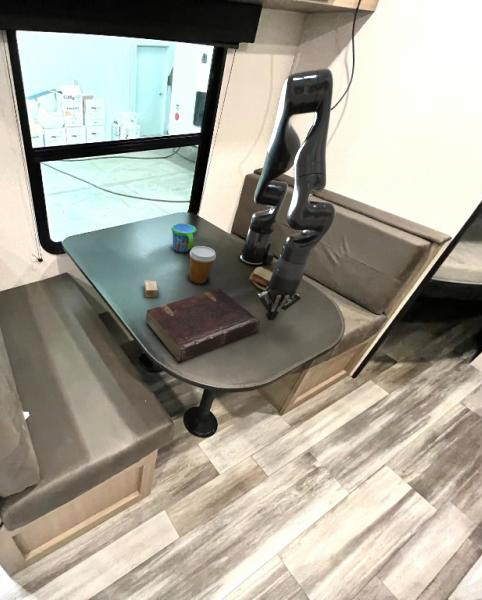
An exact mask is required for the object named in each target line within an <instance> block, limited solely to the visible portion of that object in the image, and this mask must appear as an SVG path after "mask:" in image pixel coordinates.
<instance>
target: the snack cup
mask: <svg viewBox="0 0 482 600" xmlns="http://www.w3.org/2000/svg"><path fill="white" fill-rule="evenodd" d="M170 230H171V232H172V233H171V235H172V249H173V250H174V251H176V252H179V253H187V252H188V251H190V250H192V248H194V238H195V234H196V233H197V228H196V226H194V225H192V224H188V223H182V222H181V223H175V224H173V225H172V226H171V228H170Z"/></svg>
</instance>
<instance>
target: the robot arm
mask: <svg viewBox="0 0 482 600" xmlns="http://www.w3.org/2000/svg"><path fill="white" fill-rule="evenodd" d="M333 94H334V76H333V72H332V71H331V69H329V68H317V69H310V70H305V71H298V72H294V73H291V74H289V75H288V76H287V77H286V79H285V80H284V82H283V85H282V88H281V92H280V97H279V100H278V107H277V110H276V111H277V112H276V117H275V123H274V127H273V130H272V134H271V137H270V139H269V140H270V141H269V144H268V147H267V151H266V154H265V158H264V162H263V166H262V169H261V170H262V171H261V173H260V176H259V179H258V181H257V185H256V187H255V191H254V195H253V201H254V203H255V204H256V205H259V206H264V207H270V208H268V209H265V210H261V211H257V212H254V213H253V214H252V217H251V220H250V222H249V223H250V224H249V227H248V229H247V230H248V231H247V234H246V236H245V237H246V238H245V241H244V244H243V248H242V249H241V255H240V260H241V261H242V262H243V263H244V264H247V265H250V266H261V265H265V264H266V262H267V263H268V264H270V263H273V261H274V256H275V255H274V254H273V252H272V251H271V250H270V249H271V246H272V242H271V239H272V237H273V233H274V230H275V227H276V224H277V221H278V217H279V215H280V212H281V209H282V206H283V204H284V201H285V200H286V197H287V193H288V189H289V184H288V183H287V182H285V181H281V180H279V181H278V180H275V179H277V178H279V177H281V176H283V175H285V173H287V172H288V171H290V170H291V169H292V167H293V190H292V194H291V198H290V203H289V206H288V210H287V214H286V221H287V224H288V226H289V227H290V228H291V229H292V230H294V231H301V232H299V233H295V234H292V235H289V236H288V237H287V238H286V239H285V241H284V244H283V247H282V249H281V252H280V255H279V257H278V259H277V261H276V262H275V266H274V268H273V271H272V272H273V274H272V277H271V279H270V284H269V287H268V288H267V289H266V291H263V292H257V293H256V296H257V298H258V299H259V300H260V302H261V304H262V306H263V307H264V309H265V310H266V313H265V317H266V319H267V320H268V321H275V319H277V317H278V315H279V312H280V311H287V310H288V309H289V308H290V307H292V306H293V305H295V304H296V303H297V302H299V301H300V300H301V299H302V298H301V296H300V295H299V294H298V292H297V290H298V288H299V285H300V284H301V281H302V279H303V277H304V274H305V272H306V269H307V266H308V263H309V260H310V259H311V256H312V254H313V250H314V248H315V247H316V246H317V245H318V244H319V243H320V242H321V240H322V239H323V238H324V236H325V235H326V234H327V233H328V231H329V230H330V229H331V228H332V226H333V224H334V222H335V219H336V213H337V211H336V208H335V205H334V204H333V203H332V202H330V201H323V200H322V201H318V200H315V201H313V200H312V201H311V200H309V197H310V196H311V195H315V194H318V193H320V192H322V191H323V190H324V189H325V188H326V186H327V143H328V135H329V129H330V128H329V127H330V121H331V114H332V113H331V111H332V103H333ZM312 113H313V114H314V116H313V123H312V126H311V129H310V130H309V132H308V134H307V135H306V137H305V139H304V141H303V142H301V138H300V136H299V134H298V132H297V130H296V128H295V127H294V125H293V124H292V121H291V118H293V116H297V115H304V114H305V115H306V114H312ZM267 298H268V299H267ZM267 300H268V302H267Z"/></svg>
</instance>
